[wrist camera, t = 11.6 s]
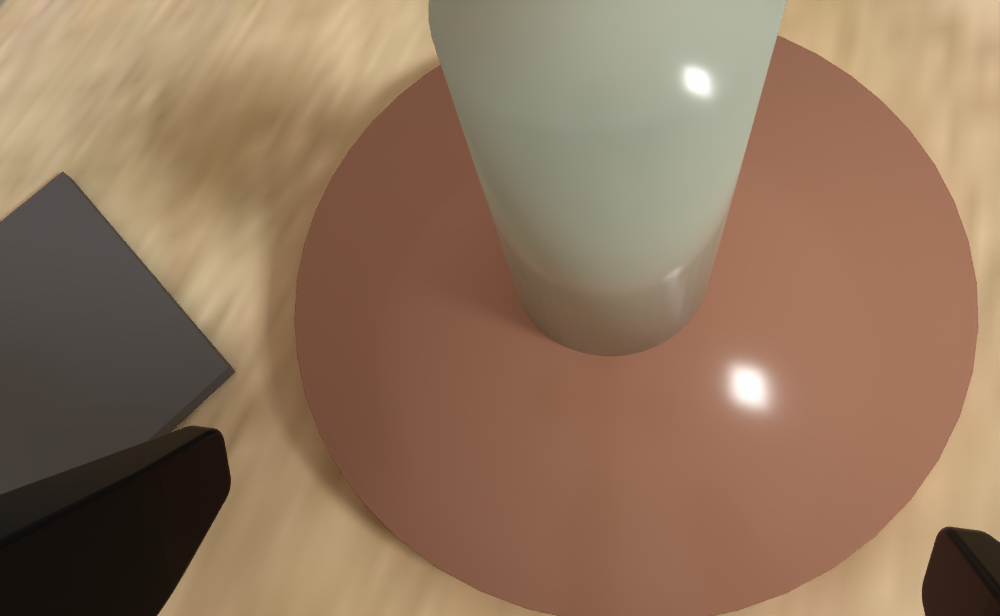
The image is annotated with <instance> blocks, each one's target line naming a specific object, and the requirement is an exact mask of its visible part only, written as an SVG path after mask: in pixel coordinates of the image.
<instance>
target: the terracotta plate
mask: <svg viewBox="0 0 1000 616" xmlns="http://www.w3.org/2000/svg"><path fill="white" fill-rule="evenodd" d="M295 331H296V345H297V358H298V362H299V367H300V372H301V376H302V381H303V385H304V390H305V395H306V398H307V401H308V403H309V406H310V409H311V411H312V414H313V417H314V419H315V422H316V425H317V428H318V430H319V433H320V435H321V437H322V439H323V441H324V443H325V444H326V446H327V448H328V450H329V452H330V454H331V455H332V457H333V459H334V461H335V463H336V465H337V466H338V468H339V470H340V472H341V473H342V474H343V476H344V477H345V478H346V480H347V481H348V482H349V484H350V485H351V487H352V488H353V489H354V491H355V492H356V493H357V495H358V496H359V497H360V499H361V500H362V501H363V503H364V504H365V505H366V507H367V508H368V509H369V510H370V511H371V512H372V513H373V514H374V515H375V516H376V517H377V518H378V519H379V520H380V521H381V522H382V523H383V524H384V525H385V526H386V527H387V528H388V529H389V530H390V531H391V532H392V533H393V534H394V535H395V536H396V537H397V538H398V539H400V540H401V541H402V542H404V543H405V544H406V545H408V546H409V547H410V548H412V549H413V550H414V551H416V552H417V553H418V554H420V555H421V556H422V557H424V558H425V559H426V560H428V561H429V562H430V563H432V564H433V565H434V566H435V567H437V568H439V569H441V570H443V571H444V572H446V573H448V574H450V575H452V576H453V577H455V578H457V579H459V580H461V581H462V582H464V583H466V584H468V585H470V586H472V587H473V588H475V589H477V590H479V591H481V592H484V593H487V594H489V595H492V596H494V597H497V598H500V599H502V600H505V601H508V602H510V603H513V604H515V605H518V606H521V607H523V608H526V609H530V610H534V611H539V612H543V613H548V614H552V615H556V616H714V615H719V614H724V613H729V612H734V611H738V610H740V609H743V608H746V607H749V606H751V605H754V604H757V603H760V602H763V601H765V600H768V599H771V598H774V597H777V596H779V595H782V594H785V593H787V592H789V591H791V590H793V589H795V588H797V587H799V586H800V585H802V584H804V583H806V582H808V581H810V580H812V579H813V578H815V577H817V576H819V575H821V574H823V573H825V572H827V571H828V570H830V569H832V568H834V567H835V566H837V565H838V564H839V563H841V562H842V561H843V560H844V559H846V558H847V557H848V556H850V555H851V554H852V553H854V552H855V551H856V550H858V549H859V548H860V547H862V546H863V545H864V544H866V543H867V542H868V541H870V540H871V539H872V538H874V537H875V536H876V535H877V534H878V533H879V532H880V531H881V530H882V529H883V528H884V527H885V526H886V525H887V524H888V523H889V522H890V521H891V520H892V519H893V518H894V516H895V515H896V514H897V513H898V512H899V511H900V510H901V509H902V508H903V507H904V506H905V505H906V504H907V503H908V502H909V501H910V500H911V499H912V497H913V496H914V494H915V493H916V491H917V490H918V489H919V487H920V486H921V484H922V483H923V481H924V480H925V479H926V477H927V476H928V474H929V473H930V471H931V470H932V469H933V467H934V466H935V464H936V463H937V461H938V460H939V458H940V456H941V454H942V452H943V450H944V448H945V446H946V444H947V442H948V439H949V437H950V435H951V433H952V431H953V429H954V427H955V425H956V423H957V421H958V419H959V417H960V413H961V410H962V407H963V403H964V400H965V396H966V393H967V390H968V386H969V383H970V379H971V376H972V373H973V365H974V357H975V349H976V341H977V333H978V306H977V282H976V277H975V272H974V267H973V262H972V257H971V252H970V246H969V241H968V238H967V236H966V233H965V230H964V227H963V224H962V222H961V219H960V216H959V213H958V210H957V208H956V205H955V202H954V200H953V198H952V196H951V194H950V192H949V190H948V189H947V187H946V185H945V183H944V181H943V179H942V177H941V175H940V174H939V172H938V170H937V168H936V166H935V164H934V163H933V161H932V160H931V159H930V157H929V156H928V155H927V153H926V152H925V150H924V149H923V148H922V146H921V145H920V143H919V142H918V141H917V139H916V138H915V137H914V135H913V134H912V132H911V131H910V130H909V129H908V128H907V127H906V126H905V125H904V124H903V123H902V122H901V120H900V119H899V118H898V117H897V116H896V115H895V114H894V113H893V112H892V111H891V110H890V109H889V108H888V107H887V106H886V105H885V104H884V103H883V101H881V100H880V99H879V98H878V97H876V96H875V95H874V94H873V93H872V92H870V91H869V90H868V89H867V88H865V87H864V86H863V85H862V84H861V83H859V82H858V81H857V80H856V79H854V78H853V77H852V76H851V75H849V74H848V73H846V72H844V71H843V70H841V69H840V68H838V67H837V66H835V65H833V64H832V63H830V62H829V61H827V60H826V59H824V58H822V57H821V56H819V55H818V54H816V53H814V52H812V51H810V50H808V49H806V48H803V47H801V46H799V45H797V44H795V43H793V42H791V41H789V40H787V39H785V38H783V37H780V36H778V35H777V38H776V42H775V45H774V49H773V53H772V56H771V60H770V64H769V67H768V71H767V75H766V78H765V82H764V85H763V89H762V93H761V96H760V100H759V104H758V107H757V111H756V114H755V118H754V122H753V125H752V129H751V133H750V136H749V140H748V143H747V147H746V151H745V154H744V158H743V162H742V165H741V169H740V172H739V176H738V180H737V183H736V187H735V191H734V194H733V198H732V201H731V205H730V209H729V212H728V216H727V220H726V223H725V227H724V230H723V234H722V238H721V241H720V245H719V249H718V252H717V256H716V260H715V263H714V267H713V270H712V274H711V278H710V281H709V285H708V289H707V292H706V295H705V297H704V300H703V302H702V304H701V306H700V308H699V309H698V311H697V312H696V314H695V316H694V317H693V318H692V319H691V320H690V321H689V323H688V324H687V325H686V326H685V327H684V328H683V329H682V330H680V331H679V332H678V333H677V334H676V335H674V336H673V337H671V338H670V339H669V340H667V341H666V342H664V343H662V344H660V345H658V346H656V347H654V348H651V349H648V350H645V351H643V352H639V353H635V354H630V355H623V356H598V355H591V354H586V353H582V352H579V351H575V350H573V349H570V348H568V347H566V346H563V345H561V344H560V343H558V342H556V341H555V340H553V339H551V338H550V337H549V336H547V335H546V334H545V333H544V332H542V331H541V330H540V329H539V328H538V327H537V326H536V325H535V324H534V323H533V321H532V320H531V319H530V317H529V316H528V315H527V313H526V312H525V310H524V308H523V306H522V304H521V302H520V300H519V297H518V294H517V292H516V289H515V286H514V283H513V280H512V277H511V274H510V271H509V268H508V265H507V262H506V259H505V256H504V253H503V250H502V247H501V244H500V241H499V238H498V235H497V232H496V229H495V226H494V223H493V220H492V217H491V214H490V211H489V208H488V205H487V202H486V199H485V196H484V193H483V190H482V187H481V184H480V181H479V178H478V175H477V172H476V169H475V166H474V163H473V160H472V157H471V154H470V151H469V148H468V145H467V142H466V139H465V136H464V133H463V130H462V127H461V124H460V121H459V118H458V115H457V112H456V109H455V106H454V103H453V100H452V97H451V94H450V91H449V88H448V85H447V82H446V79H445V76H444V73H443V70H442V67H441V65H440V66H439V67H437V68H435V69H434V70H432V71H431V72H429V73H427V74H426V75H425V76H423V77H422V78H421V79H420V80H418V81H417V82H416V83H415V84H413V85H412V86H411V87H409V88H408V89H407V90H406V91H404V92H403V93H402V94H401V95H399V96H398V97H397V98H396V99H395V100H394V101H393V102H392V103H391V104H390V105H389V106H388V107H387V108H386V109H385V110H384V111H383V112H382V113H381V114H380V115H379V116H378V117H377V118H376V119H375V120H374V121H373V122H372V123H371V124H370V125H369V127H368V128H367V129H366V130H365V132H364V133H363V134H362V135H361V136H360V138H359V139H358V140H357V141H356V143H355V144H354V145H353V146H352V147H351V149H350V150H349V152H348V153H347V155H346V156H345V158H344V160H343V161H342V163H341V164H340V166H339V167H338V169H337V171H336V172H335V174H334V175H333V177H332V178H331V180H330V182H329V184H328V187H327V189H326V191H325V193H324V195H323V197H322V199H321V201H320V203H319V205H318V207H317V209H316V212H315V215H314V218H313V221H312V224H311V226H310V229H309V232H308V235H307V238H306V241H305V244H304V249H303V254H302V259H301V264H300V269H299V274H298V279H297V289H296V304H295Z"/></svg>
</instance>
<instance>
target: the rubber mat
mask: <svg viewBox="0 0 1000 616" xmlns="http://www.w3.org/2000/svg"><path fill="white" fill-rule="evenodd" d="M234 372H235V371H234V369H233V368H232V367H231V366H230V365H229V363H228V362H227V361H226V360H225V359H224V358H223V356H222V355H221V354H220V353H219V352H218V351H217V349H216V348H215V347H214V346H213V345H212V343H211V342H210V341H209V340H208V339H207V338H206V336H205V335H204V334H203V333H202V332H201V331H200V329H199V328H198V327H197V326H196V325H195V323H194V322H193V321H192V320H191V319H190V318H189V316H188V315H187V314H186V313H185V312H184V310H183V309H182V308H181V307H180V306H179V305H178V303H177V302H176V301H175V300H174V299H173V298H172V296H171V295H170V294H169V293H168V292H167V290H166V289H165V288H164V287H163V286H162V285H161V283H160V282H159V281H158V280H157V279H156V277H155V276H154V275H153V274H152V273H151V272H150V270H149V269H148V268H147V267H146V266H145V265H144V263H143V262H142V261H141V260H140V259H139V257H138V256H137V255H136V254H135V253H134V252H133V250H132V249H131V248H130V247H129V246H128V245H127V243H126V242H125V241H124V240H123V239H122V237H121V236H120V235H119V234H118V233H117V232H116V230H115V229H114V228H113V227H112V226H111V224H110V223H109V222H108V221H107V220H106V219H105V217H104V216H103V215H102V214H101V213H100V212H99V210H98V209H97V208H96V207H95V206H94V204H93V203H92V202H91V201H90V200H89V199H88V197H87V196H86V195H85V194H84V193H83V191H82V190H81V189H80V188H79V187H78V186H77V184H76V183H75V182H74V181H73V180H72V179H71V178H70V177H69V176H68V175H66V174H65V173H64V172H62V173H60V174H59V175H58V176H57V177H55V178H54V179H53V180H52V181H51V182H49V183H48V184H47V185H46V186H44V187H43V188H42V189H41V190H39V191H38V192H37V193H36V194H35V195H33V196H32V197H31V198H30V199H28V200H27V201H26V202H25V203H23V204H22V205H21V206H20V207H19V208H17V209H16V210H15V211H14V212H12V213H11V214H10V215H9V216H7V217H6V218H5V219H4V220H3V221H1V222H0V494H3V493H5V492H8V491H11V490H14V489H16V488H19V487H22V486H25V485H27V484H30V483H33V482H36V481H38V480H41V479H44V478H47V477H49V476H52V475H55V474H58V473H61V472H63V471H66V470H69V469H72V468H74V467H77V466H80V465H83V464H85V463H88V462H91V461H94V460H96V459H99V458H102V457H105V456H107V455H110V454H113V453H116V452H118V451H121V450H124V449H127V448H130V447H132V446H135V445H138V444H141V443H143V442H146V441H149V440H152V439H154V438H157V437H160V436H163V435H165V434H168V433H169V432H170V431H171V430H172V429H173V428H174V427H175V426H177V425H178V424H179V423H180V422H181V421H182V420H183V419H184V418H185V417H186V416H187V415H189V414H190V413H191V412H192V411H193V410H194V409H195V408H196V407H197V406H198V405H199V404H201V403H202V402H203V401H204V400H205V399H206V398H207V397H208V396H209V395H210V394H211V393H213V392H214V391H215V390H216V389H217V388H218V387H219V386H220V385H221V384H222V383H223V382H225V381H226V380H227V379H228V378H229V377H230V376H231V375H232V374H233V373H234Z"/></svg>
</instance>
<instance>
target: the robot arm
mask: <svg viewBox="0 0 1000 616" xmlns="http://www.w3.org/2000/svg"><path fill="white" fill-rule="evenodd" d="M230 485H231V476H230V471H229V465H228V459H227V453H226V448H225V442H224V438H223V435H222V434H221V432H220V431H219V430H217V429H215V428H207V427H200V426H188V427H185V428H182V429H179V430H176V431H174V432H171V433H168V434H165V435H163V436H160V437H157V438H154V439H152V440H149V441H146V442H143V443H141V444H138V445H135V446H132V447H130V448H127V449H124V450H121V451H118V452H116V453H113V454H110V455H107V456H105V457H102V458H99V459H96V460H94V461H91V462H88V463H85V464H83V465H80V466H77V467H74V468H72V469H69V470H66V471H63V472H61V473H58V474H55V475H52V476H49V477H47V478H44V479H41V480H38V481H36V482H33V483H30V484H27V485H25V486H22V487H19V488H16V489H14V490H11V491H8V492H5V493H3V494H0V616H157V615H158V614H159V612H160V611H161V609H162V608H163V606H164V605H165V603H166V602H167V600H168V599H169V597H170V596H171V594H172V593H173V591H174V590H175V588H176V586H177V585H178V583H179V581H180V580H181V578H182V576H183V575H184V573H185V571H186V569H187V568H188V566H189V564H190V562H191V560H192V559H193V557H194V555H195V553H196V552H197V550H198V548H199V546H200V544H201V543H202V541H203V539H204V537H205V536H206V534H207V532H208V530H209V528H210V527H211V525H212V523H213V521H214V520H215V518H216V516H217V514H218V512H219V511H220V509H221V507H222V505H223V504H224V502H225V500H226V498H227V496H228V493H229V490H230ZM922 602H923V607H924V612H925V616H1000V542H999V541H997V540H996V539H994V538H993V537H992V536H990V535H989V534H987V533H985V532H983V531H979V530H971V529H963V528H956V527H945V528H943V529H941V530H940V532H939V533H938V535H937V537H936V540H935V543H934V547H933V550H932V553H931V557H930V560H929V563H928V567H927V570H926V574H925V577H924V580H923V585H922Z"/></svg>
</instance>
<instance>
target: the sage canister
mask: <svg viewBox="0 0 1000 616" xmlns="http://www.w3.org/2000/svg"><path fill="white" fill-rule="evenodd" d="M786 2H787V0H429V25H430V30H431V36H432V40H433V43H434V46H435V49H436V52H437V55H438V58H439V61H440V64H441V67H442V70H443V73H444V76H445V79H446V82H447V85H448V88H449V91H450V94H451V97H452V100H453V103H454V106H455V109H456V112H457V115H458V118H459V121H460V124H461V127H462V130H463V133H464V136H465V139H466V142H467V145H468V148H469V151H470V154H471V157H472V160H473V163H474V166H475V169H476V172H477V175H478V178H479V181H480V184H481V187H482V190H483V193H484V196H485V199H486V202H487V205H488V208H489V211H490V214H491V217H492V220H493V223H494V226H495V229H496V232H497V235H498V238H499V241H500V244H501V247H502V250H503V253H504V256H505V259H506V262H507V265H508V268H509V271H510V274H511V277H512V280H513V283H514V286H515V289H516V292H517V294H518V297H519V300H520V302H521V304H522V306H523V308H524V310H525V312H526V313H527V315H528V316H529V317H530V319H531V320H532V321H533V323H534V324H535V325H536V326H537V327H538V328H539V329H540V330H541V331H542V332H544V333H545V334H546V335H547V336H549V337H550V338H551V339H553V340H555V341H556V342H558V343H560V344H561V345H563V346H566V347H568V348H570V349H573V350H575V351H579V352H582V353H586V354H591V355H598V356H623V355H630V354H635V353H639V352H643V351H645V350H648V349H651V348H654V347H656V346H658V345H660V344H662V343H664V342H666V341H667V340H669V339H670V338H671V337H673V336H674V335H676V334H677V333H678V332H679V331H680V330H682V329H683V328H684V327H685V326H686V325H687V324H688V323H689V321H690V320H691V319H692V318H693V317H694V316H695V314H696V312H697V311H698V309H699V308H700V306H701V304H702V302H703V300H704V297H705V295H706V292H707V289H708V285H709V281H710V278H711V274H712V270H713V267H714V263H715V260H716V256H717V252H718V249H719V245H720V241H721V238H722V234H723V230H724V227H725V223H726V220H727V216H728V212H729V209H730V205H731V201H732V198H733V194H734V191H735V187H736V183H737V180H738V176H739V172H740V169H741V165H742V162H743V158H744V154H745V151H746V147H747V143H748V140H749V136H750V133H751V129H752V125H753V122H754V118H755V114H756V111H757V107H758V104H759V100H760V96H761V93H762V89H763V85H764V82H765V78H766V75H767V71H768V67H769V64H770V60H771V56H772V53H773V49H774V45H775V42H776V38H777V35H778V31H779V27H780V24H781V20H782V16H783V13H784V9H785V6H786Z"/></svg>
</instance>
